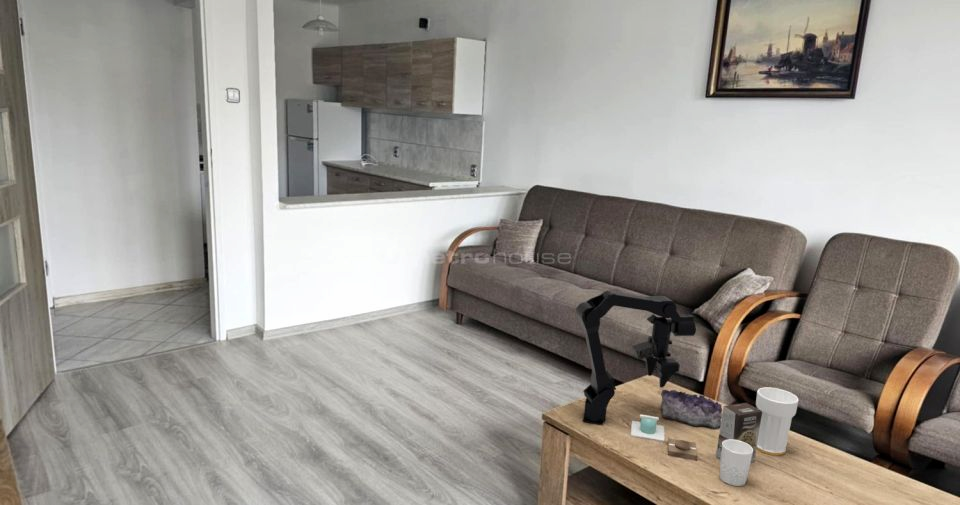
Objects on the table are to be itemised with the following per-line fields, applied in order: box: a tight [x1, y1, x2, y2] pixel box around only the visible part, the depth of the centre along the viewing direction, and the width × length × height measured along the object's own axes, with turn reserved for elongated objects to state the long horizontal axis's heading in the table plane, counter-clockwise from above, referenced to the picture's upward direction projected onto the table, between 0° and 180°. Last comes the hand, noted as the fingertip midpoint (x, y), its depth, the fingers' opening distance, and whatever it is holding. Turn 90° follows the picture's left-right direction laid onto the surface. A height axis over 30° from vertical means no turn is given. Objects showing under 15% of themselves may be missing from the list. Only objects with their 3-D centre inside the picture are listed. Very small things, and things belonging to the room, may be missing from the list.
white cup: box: [719, 439, 753, 487], centre depth 173 cm, size 8×8×10 cm
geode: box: [659, 389, 723, 430], centre depth 208 cm, size 20×12×10 cm, turn 64°
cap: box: [639, 414, 660, 434], centre depth 198 cm, size 6×5×5 cm
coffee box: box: [715, 402, 762, 463], centre depth 183 cm, size 9×6×16 cm
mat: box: [630, 420, 665, 443], centre depth 198 cm, size 10×10×1 cm
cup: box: [755, 386, 800, 457], centre depth 190 cm, size 11×11×17 cm
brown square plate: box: [667, 437, 698, 461], centre depth 187 cm, size 8×8×2 cm
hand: (655, 381), depth 205 cm, fingers open, 9 cm apart
